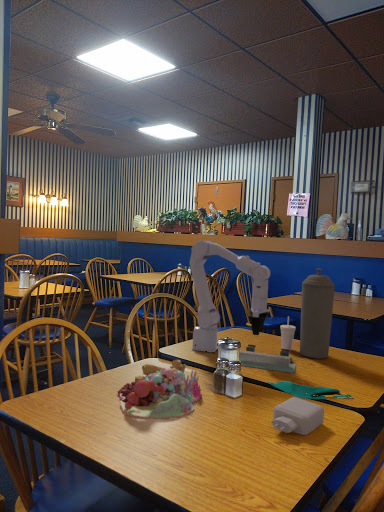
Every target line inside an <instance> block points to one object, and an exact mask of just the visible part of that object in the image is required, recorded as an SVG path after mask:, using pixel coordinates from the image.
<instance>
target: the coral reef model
mask: <svg viewBox="0 0 384 512" xmlns="http://www.w3.org/2000/svg"><path fill="white" fill-rule="evenodd" d="M186 364H187V363H183V364H182V361H181V360H180V359H174V360H172V364H171V365H170V366H169V367H168V368H166V367H161V366H156V365H154V364H152V363H151V364H150V363H145V364H143V365H142V366H141V369H142V375H137V376H135V378H134V381H131V382H129V383H128V382H127V383H125V384H124V385H123V386H122V387H121V388H120V389H119V390H118V391H117V394H118V396H119V399H120V400H119V408H120V409H121V412H122V413H123V414H124V415H126V416H128V417H132V418H135V419H136V418H137V419H143V420H146V419H147V420H151V419H152V420H170V419H179V418H181V417H184V416H187V415H190V414H192V413H193V412H194V411H195V409H194V408H195V406H194V405H193V404H195V403H197V402H198V401H199V400H200V399H202V398H203V394H202V389H201V388H200V387H201V385H200V384H199V375H197V370H195V372H194V369H192V370H191V372H190V376H189V375H187V377H186V374H185V371H186ZM143 375H144V376H143Z"/></svg>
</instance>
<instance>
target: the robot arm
mask: <svg viewBox="0 0 384 512" xmlns="http://www.w3.org/2000/svg"><path fill="white" fill-rule="evenodd" d="M190 249H191V254H190V259H189V269H190V271H191V275H192V276H191V277H192V280H193V283H194V288H195V293H196V297H197V302H198V309H197V324H198V326H197V325H196V326H195V327H194V329H193V333H192V347H191V350H192V351H199V352H205V351H207V352H206V353H212V352H215V351H216V350H217V347H218V346H217V345H218V342H217V341H218V328H219V327H218V324H219V323H220V320H221V315H220V312H218V310H217V308H216V307H217V306H216V305H215V304H214V303H213V300H212V296H211V292H210V288H209V282H208V280H207V275H206V271H205V267H204V264H205V263H206V261H207V260H208V259H209V258H211V257H212V256H219V257H221V258H223V259H225V260H227V261H229V262H231V263H233V264H234V265H235V268H236V269H237V270H239V271H241V273H244V274H246V275H247V276H249V277H251V278H252V280H253V283H252V294H251V307H250V312H252V314H251V315H250V314H249V315H248V319H249V322H250V324H251V330H252V331H251V332H252V335H253V336H259V335H260V332H262V331H263V329H264V324H265V321H266V318H267V316H268V314H269V313H270V312H271V310H270V309H267V308H268V307H267V306H268V295H269V294H268V291H269V278H271V270H270V269H269V267H267V265H261V262H258V261H257V262H256V261H255V260H253V259H251V257H250V256H249V255H238V254H236V253H234V252H232V251H231V250H229V249H227V248H226V247H224V246H223V245H222V244H221V245H220V244H219V243H216V242H213V240H200V239H199V240H197V241H196V242H195V243H193V245H192V247H191V248H190ZM217 351H218V350H217ZM217 351H216V352H217ZM216 352H215V353H216Z"/></svg>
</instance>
